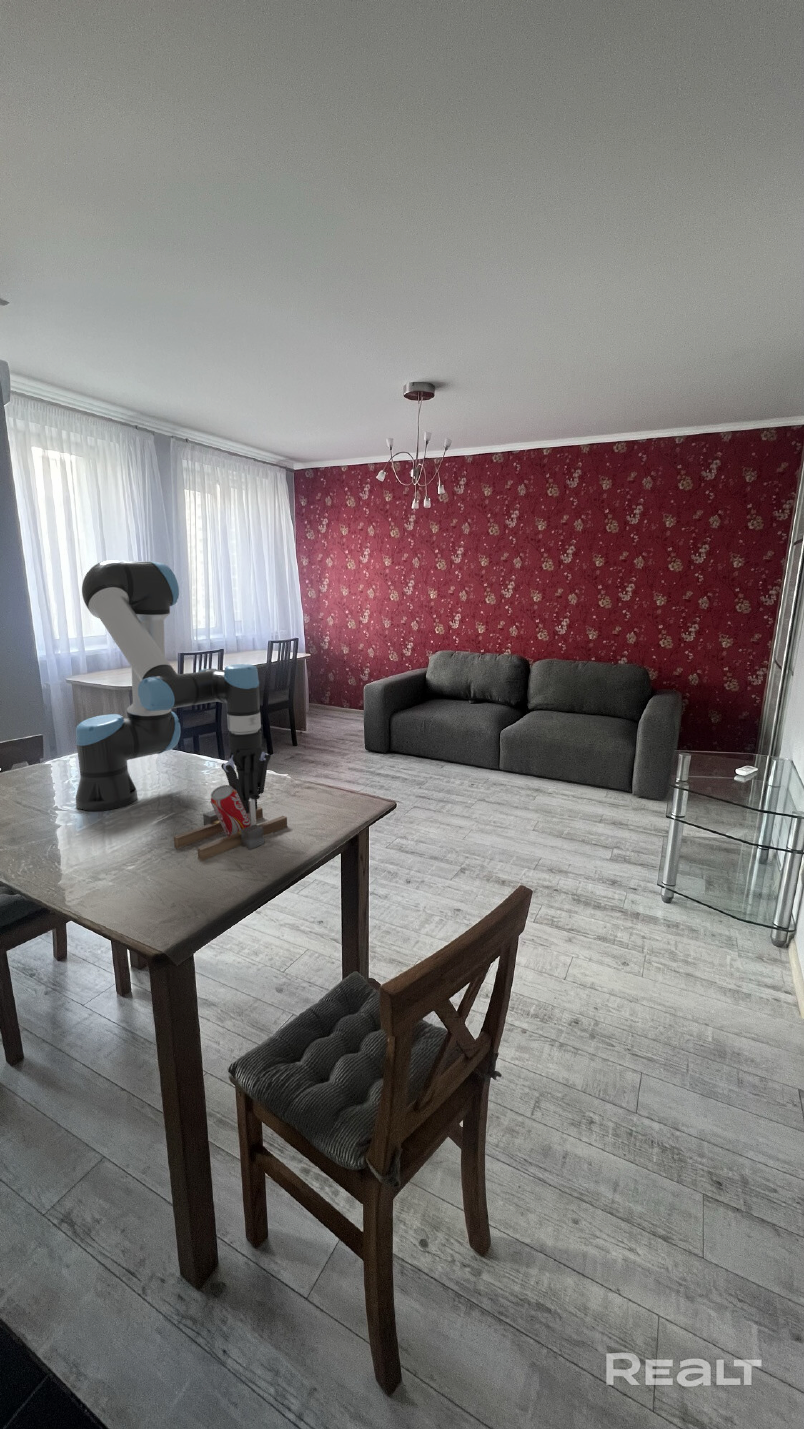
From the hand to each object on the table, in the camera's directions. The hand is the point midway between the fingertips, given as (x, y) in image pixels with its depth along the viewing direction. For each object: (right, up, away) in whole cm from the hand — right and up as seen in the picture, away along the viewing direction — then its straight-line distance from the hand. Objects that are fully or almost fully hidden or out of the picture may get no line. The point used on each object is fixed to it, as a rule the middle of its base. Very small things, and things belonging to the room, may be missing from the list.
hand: (250, 823), depth 145 cm
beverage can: (-2, -1, -3) cm, 4 cm away
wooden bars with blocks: (-3, -2, -4) cm, 5 cm away
